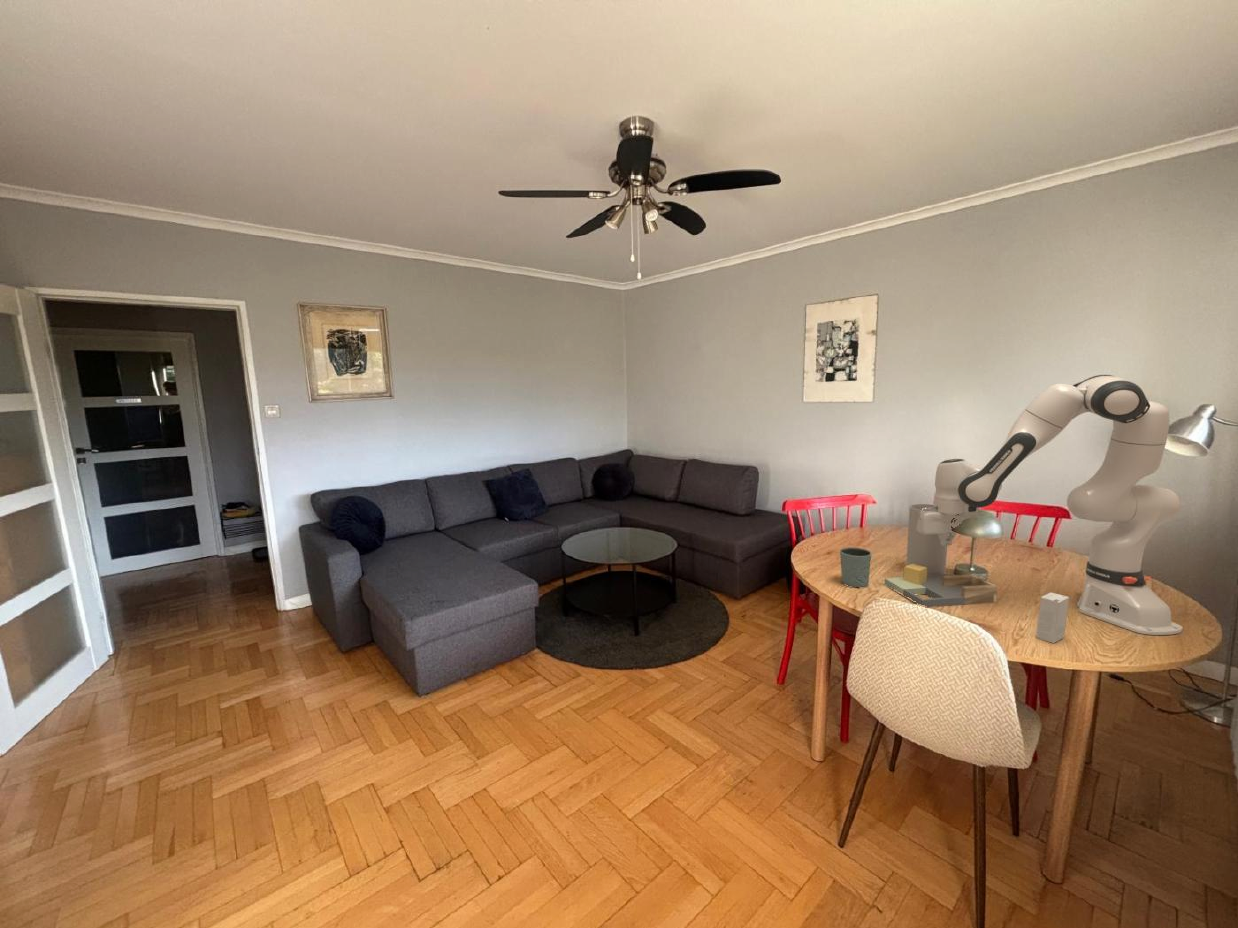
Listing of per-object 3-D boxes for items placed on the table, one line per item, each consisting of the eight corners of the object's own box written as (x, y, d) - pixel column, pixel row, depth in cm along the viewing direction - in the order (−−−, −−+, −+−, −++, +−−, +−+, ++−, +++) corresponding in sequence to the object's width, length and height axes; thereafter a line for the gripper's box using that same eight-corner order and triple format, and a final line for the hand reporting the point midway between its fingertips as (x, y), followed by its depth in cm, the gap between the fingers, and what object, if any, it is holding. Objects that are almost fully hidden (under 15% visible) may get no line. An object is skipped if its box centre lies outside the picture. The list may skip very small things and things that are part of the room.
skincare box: (1045, 631, 139) (1049, 591, 138) (1065, 638, 135) (1070, 596, 134) (1034, 637, 136) (1038, 595, 135) (1055, 644, 133) (1059, 601, 131)
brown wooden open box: (996, 601, 159) (997, 586, 158) (964, 604, 158) (965, 588, 157) (970, 589, 169) (971, 574, 169) (940, 591, 168) (941, 576, 168)
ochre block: (926, 581, 171) (927, 567, 170) (918, 584, 169) (919, 570, 168) (911, 577, 175) (912, 563, 175) (903, 580, 173) (904, 566, 172)
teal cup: (873, 589, 172) (875, 556, 170) (842, 588, 174) (843, 555, 172) (865, 578, 181) (866, 547, 180) (836, 577, 183) (837, 546, 182)
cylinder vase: (906, 565, 194) (909, 502, 190) (944, 569, 188) (948, 505, 184) (906, 575, 183) (909, 510, 179) (946, 581, 177) (950, 513, 173)
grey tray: (996, 601, 159) (996, 594, 159) (921, 607, 157) (922, 600, 156) (951, 579, 178) (951, 573, 177) (884, 584, 175) (884, 578, 175)
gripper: (926, 509, 165) (923, 549, 167) (983, 506, 166) (980, 546, 168) (913, 505, 171) (911, 543, 173) (969, 502, 172) (966, 540, 174)
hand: (946, 544), depth 171 cm, fingers closed
